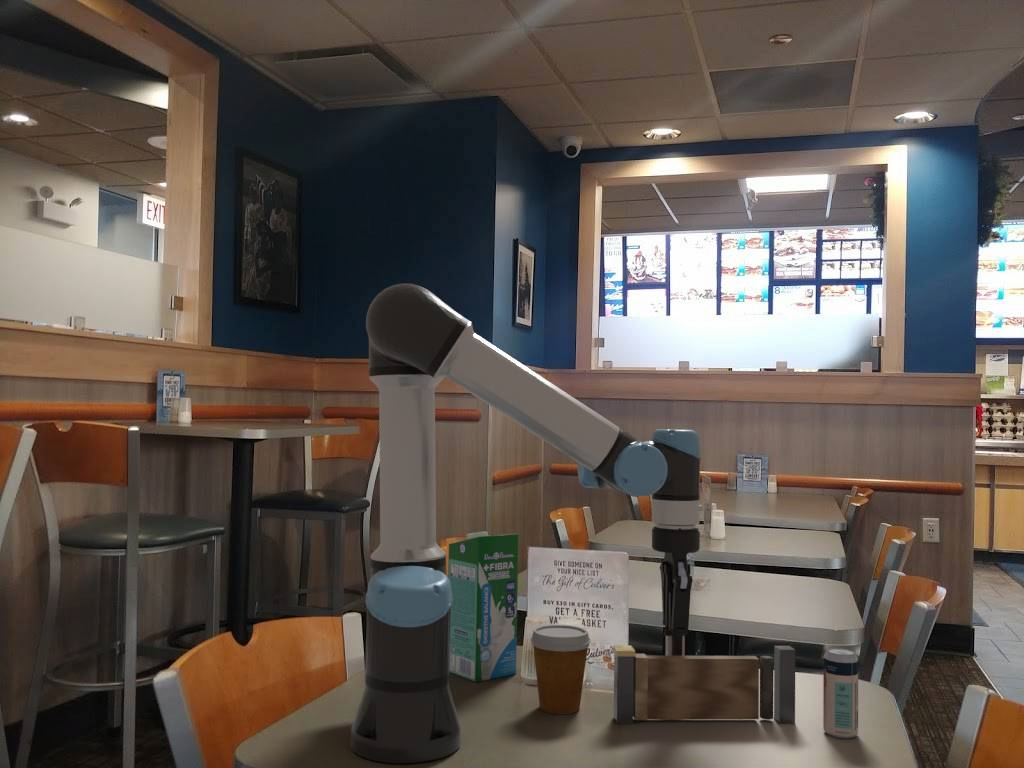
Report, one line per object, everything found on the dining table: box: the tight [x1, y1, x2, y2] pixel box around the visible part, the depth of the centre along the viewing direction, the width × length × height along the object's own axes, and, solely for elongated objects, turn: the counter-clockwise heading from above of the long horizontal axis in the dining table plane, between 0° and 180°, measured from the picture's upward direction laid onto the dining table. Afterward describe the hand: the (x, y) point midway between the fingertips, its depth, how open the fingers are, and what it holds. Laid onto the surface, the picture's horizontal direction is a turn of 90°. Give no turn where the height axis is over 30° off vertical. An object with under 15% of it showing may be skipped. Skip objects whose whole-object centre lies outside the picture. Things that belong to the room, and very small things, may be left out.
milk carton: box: [447, 531, 520, 683], centre depth 162 cm, size 9×9×25 cm
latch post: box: [612, 644, 636, 725], centre depth 136 cm, size 3×3×11 cm
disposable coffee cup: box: [530, 624, 592, 715], centre depth 142 cm, size 10×10×12 cm
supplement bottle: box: [822, 647, 859, 740], centre depth 132 cm, size 5×5×12 cm
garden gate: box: [633, 653, 774, 721], centre depth 137 cm, size 21×2×9 cm, turn 93°
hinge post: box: [773, 645, 796, 724], centre depth 138 cm, size 2×2×11 cm
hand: (674, 675), depth 143 cm, fingers closed
